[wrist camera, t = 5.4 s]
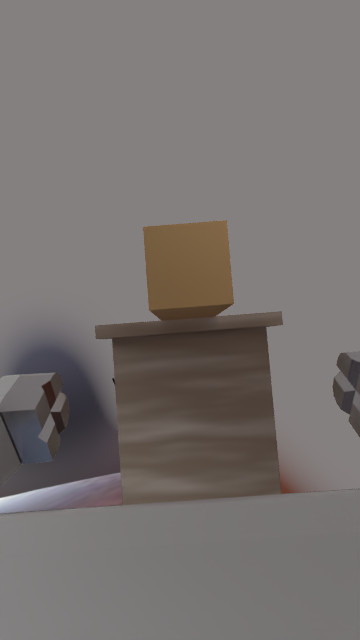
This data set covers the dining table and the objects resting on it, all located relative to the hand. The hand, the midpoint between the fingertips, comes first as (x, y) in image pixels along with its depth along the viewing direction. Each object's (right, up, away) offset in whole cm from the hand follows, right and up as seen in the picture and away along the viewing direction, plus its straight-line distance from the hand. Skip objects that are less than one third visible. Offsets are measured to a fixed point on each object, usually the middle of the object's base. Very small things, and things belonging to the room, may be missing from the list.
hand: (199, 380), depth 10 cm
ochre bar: (0, +2, +17) cm, 17 cm away
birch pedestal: (+2, -24, +21) cm, 32 cm away
